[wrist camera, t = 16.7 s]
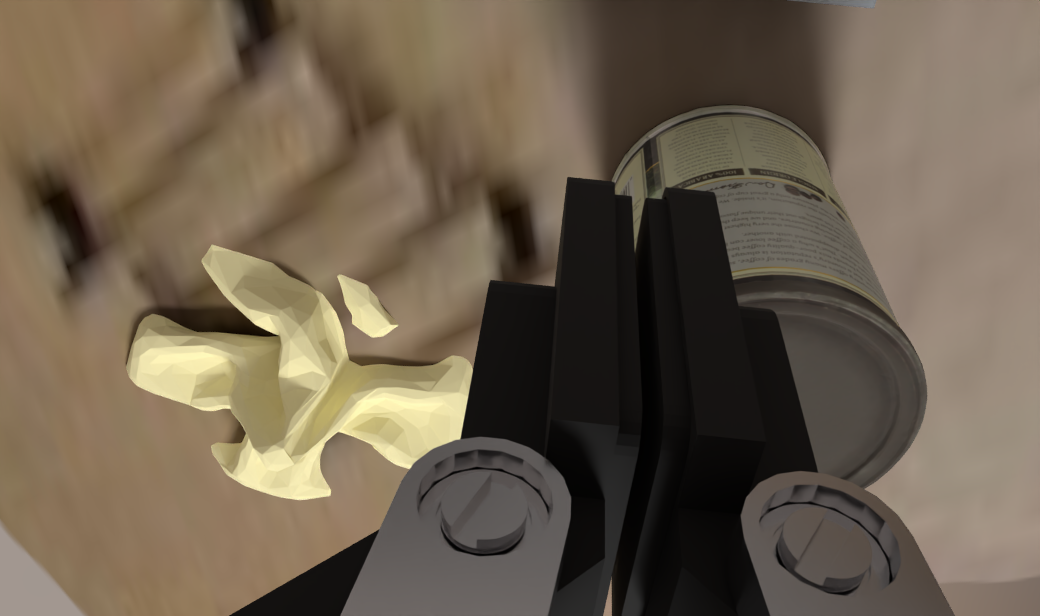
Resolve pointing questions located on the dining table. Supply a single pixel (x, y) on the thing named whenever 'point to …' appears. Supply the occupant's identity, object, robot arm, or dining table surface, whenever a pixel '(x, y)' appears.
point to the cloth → (298, 379)
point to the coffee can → (796, 276)
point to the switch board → (844, 2)
